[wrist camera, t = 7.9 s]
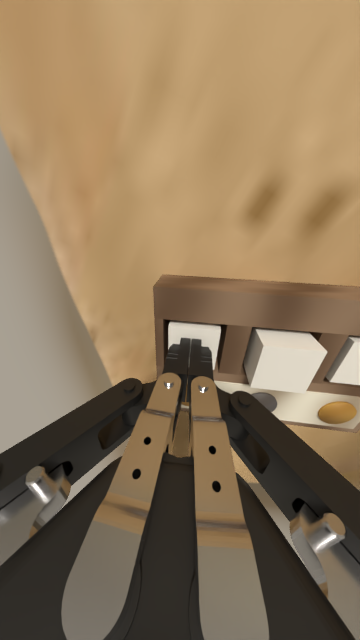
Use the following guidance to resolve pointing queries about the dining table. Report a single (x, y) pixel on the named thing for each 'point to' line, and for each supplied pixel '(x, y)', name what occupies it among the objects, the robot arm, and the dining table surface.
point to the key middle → (282, 359)
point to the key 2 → (347, 363)
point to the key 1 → (195, 334)
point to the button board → (268, 312)
